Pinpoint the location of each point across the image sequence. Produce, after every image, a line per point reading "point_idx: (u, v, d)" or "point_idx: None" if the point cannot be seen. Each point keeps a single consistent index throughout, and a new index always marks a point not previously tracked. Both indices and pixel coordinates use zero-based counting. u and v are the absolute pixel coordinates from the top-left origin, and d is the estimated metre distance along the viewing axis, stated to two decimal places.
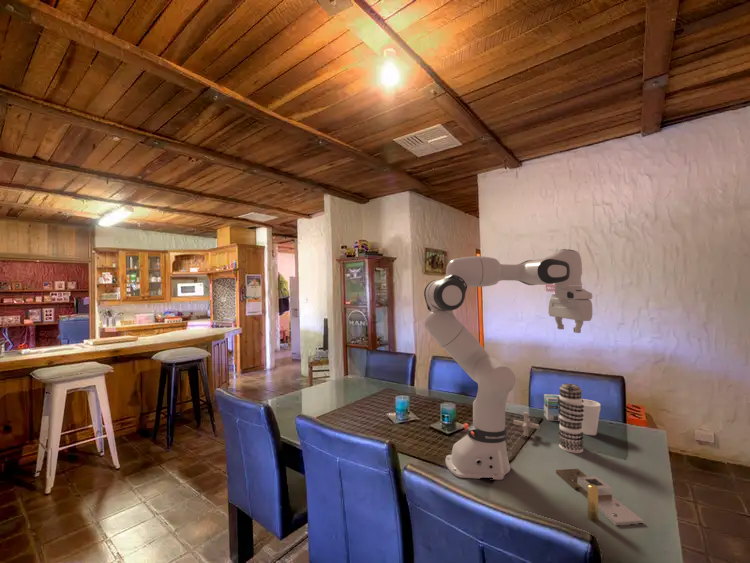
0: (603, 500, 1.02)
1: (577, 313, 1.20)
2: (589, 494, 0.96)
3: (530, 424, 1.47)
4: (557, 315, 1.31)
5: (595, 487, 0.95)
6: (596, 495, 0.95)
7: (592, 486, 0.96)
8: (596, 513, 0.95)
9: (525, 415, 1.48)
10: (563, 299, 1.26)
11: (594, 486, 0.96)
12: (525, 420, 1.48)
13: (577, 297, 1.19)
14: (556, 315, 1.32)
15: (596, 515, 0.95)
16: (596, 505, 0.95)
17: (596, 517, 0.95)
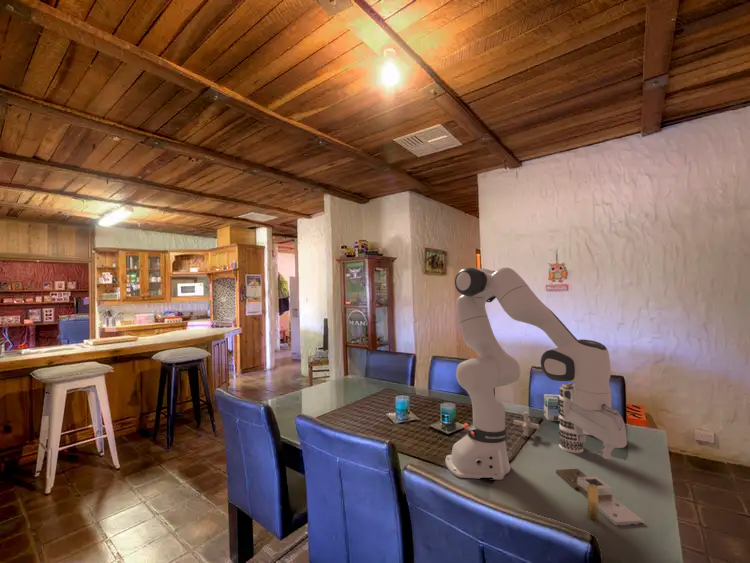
0: (603, 500, 1.02)
1: None
2: (589, 494, 0.96)
3: (530, 424, 1.47)
4: None
5: (595, 487, 0.95)
6: (596, 495, 0.95)
7: (593, 486, 0.96)
8: (596, 513, 0.95)
9: (525, 415, 1.48)
10: None
11: (594, 486, 0.96)
12: (525, 420, 1.48)
13: None
14: None
15: (596, 515, 0.95)
16: (596, 505, 0.95)
17: (596, 517, 0.95)
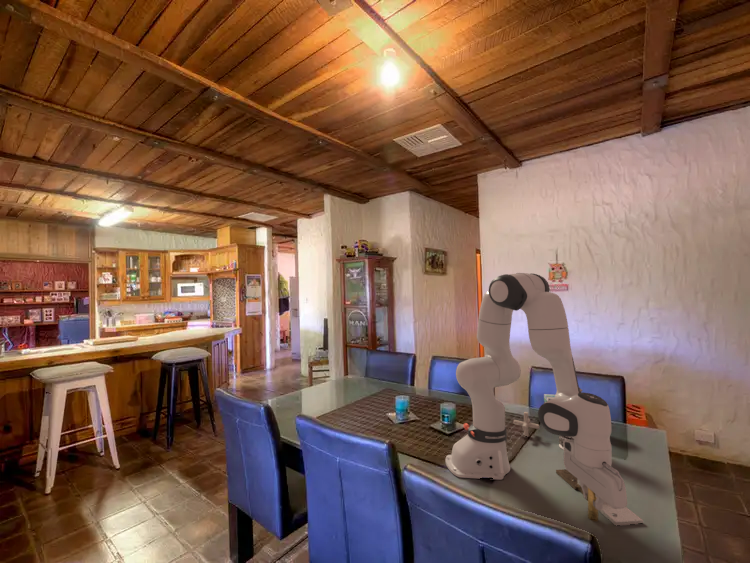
0: None
1: None
2: (589, 494, 0.96)
3: (530, 424, 1.47)
4: None
5: None
6: None
7: None
8: (596, 513, 0.95)
9: (525, 415, 1.48)
10: None
11: None
12: (525, 420, 1.48)
13: None
14: None
15: (596, 515, 0.95)
16: None
17: (596, 517, 0.95)
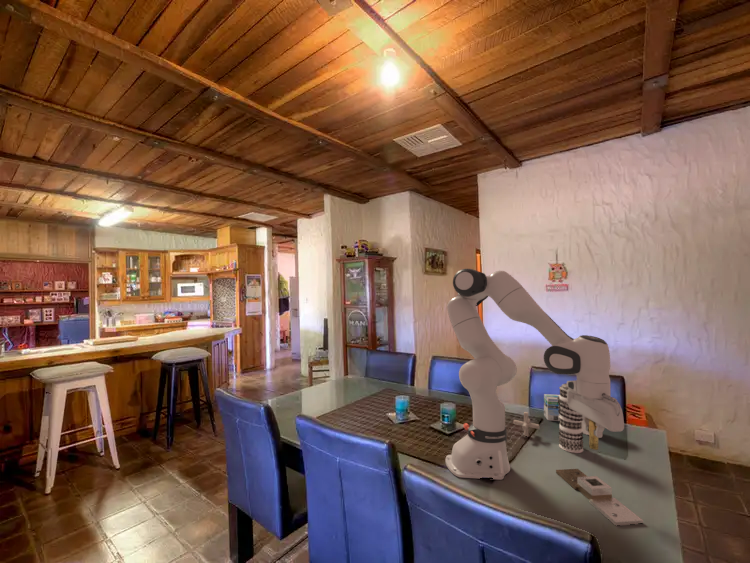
0: (603, 500, 1.02)
1: None
2: (590, 426, 1.06)
3: (530, 424, 1.47)
4: None
5: None
6: (596, 426, 1.05)
7: None
8: (596, 442, 1.05)
9: (525, 415, 1.48)
10: None
11: None
12: (525, 420, 1.48)
13: None
14: None
15: (596, 444, 1.05)
16: None
17: (596, 446, 1.05)
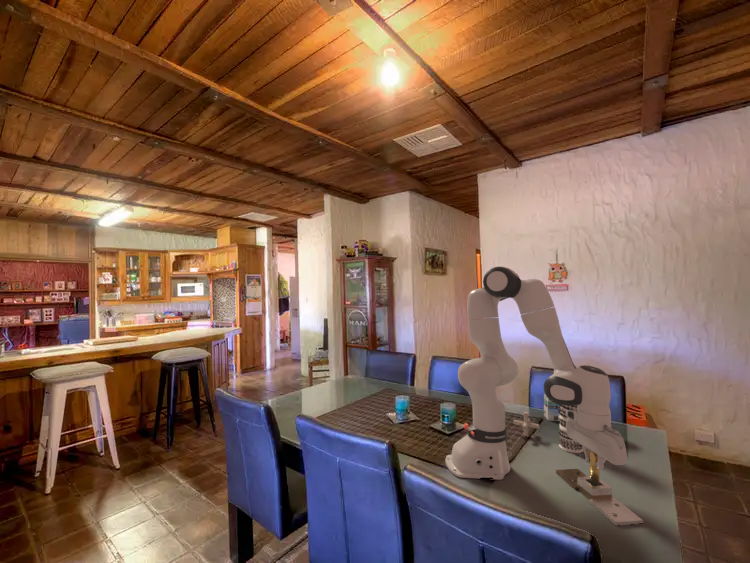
0: (603, 500, 1.02)
1: None
2: (591, 457, 1.06)
3: (530, 424, 1.47)
4: None
5: None
6: None
7: None
8: (598, 474, 1.05)
9: (525, 415, 1.48)
10: None
11: None
12: (525, 420, 1.48)
13: None
14: None
15: (598, 475, 1.05)
16: None
17: (598, 477, 1.05)
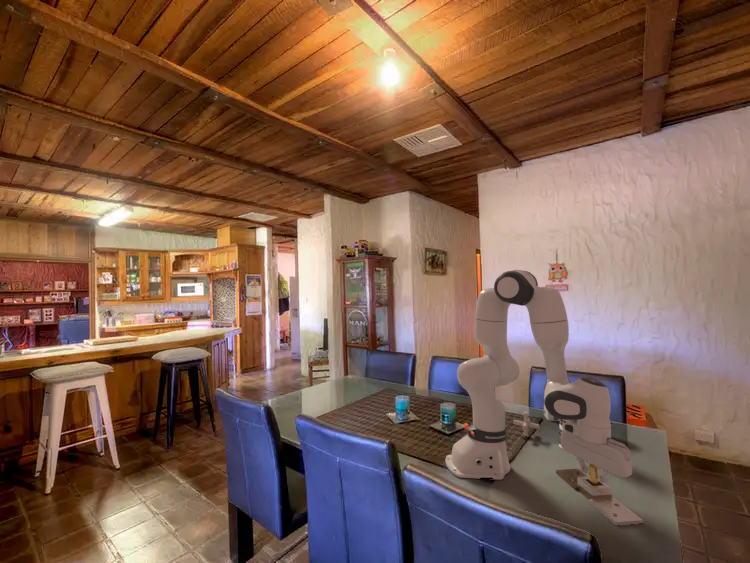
0: (603, 500, 1.02)
1: None
2: (592, 474, 1.06)
3: (530, 424, 1.47)
4: None
5: (596, 466, 1.06)
6: (598, 473, 1.06)
7: (594, 466, 1.06)
8: None
9: (525, 415, 1.48)
10: None
11: (595, 465, 1.07)
12: (525, 420, 1.48)
13: None
14: None
15: None
16: (598, 482, 1.06)
17: None
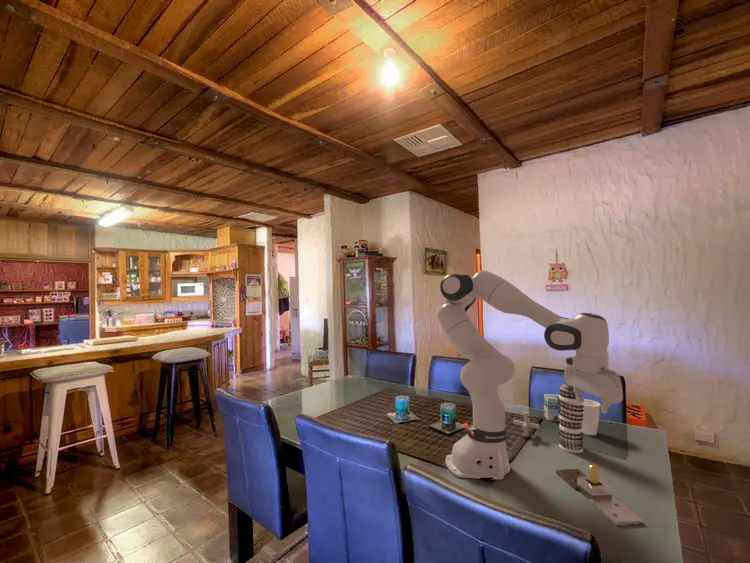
0: (603, 500, 1.02)
1: None
2: (592, 474, 1.06)
3: (530, 424, 1.47)
4: None
5: (596, 466, 1.06)
6: (597, 473, 1.06)
7: (594, 466, 1.06)
8: None
9: (525, 415, 1.48)
10: None
11: (595, 465, 1.07)
12: (525, 420, 1.48)
13: None
14: None
15: None
16: (598, 482, 1.06)
17: None
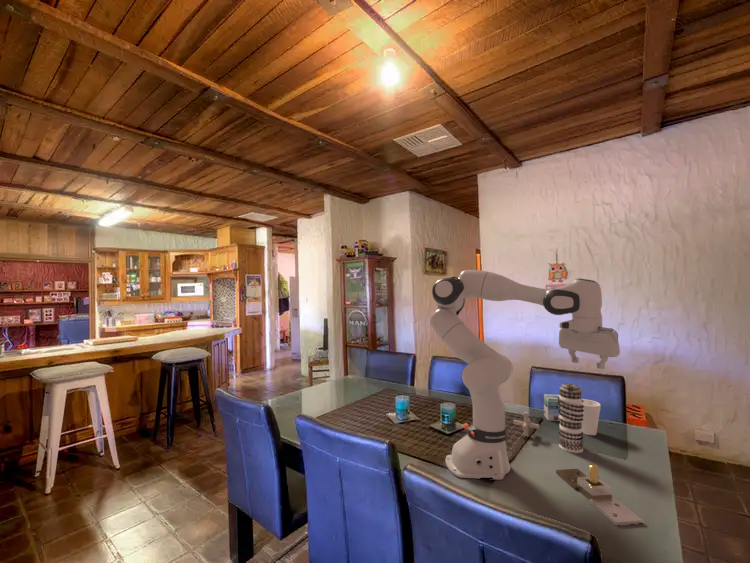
0: (603, 500, 1.02)
1: None
2: (592, 474, 1.06)
3: (530, 424, 1.47)
4: None
5: (596, 466, 1.06)
6: (597, 473, 1.06)
7: (594, 466, 1.06)
8: None
9: (525, 415, 1.48)
10: None
11: (595, 465, 1.07)
12: (525, 420, 1.48)
13: None
14: None
15: None
16: (598, 482, 1.06)
17: None
